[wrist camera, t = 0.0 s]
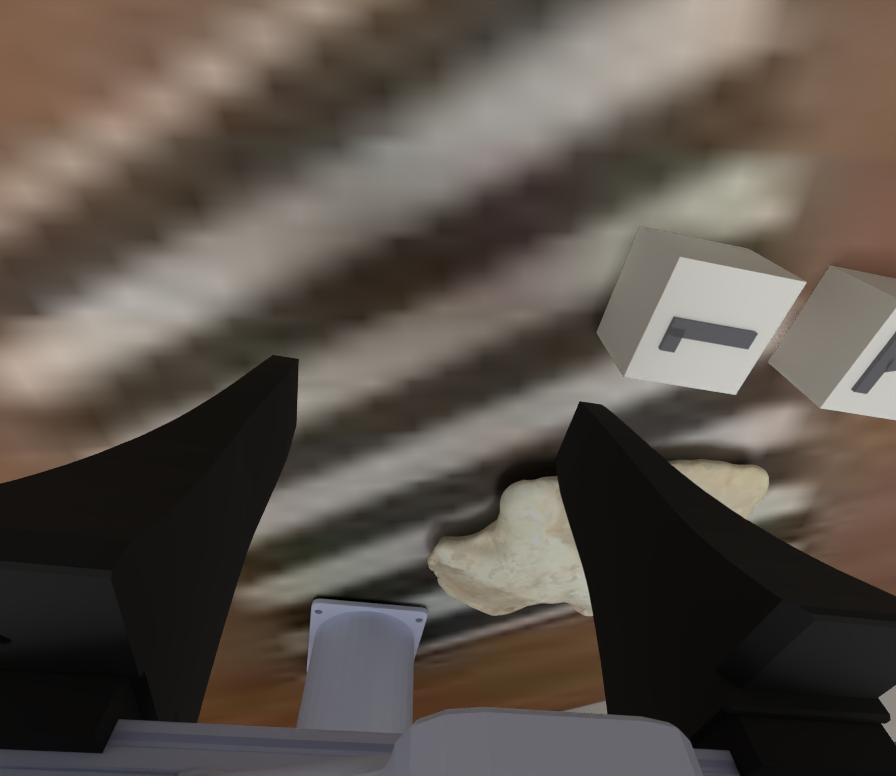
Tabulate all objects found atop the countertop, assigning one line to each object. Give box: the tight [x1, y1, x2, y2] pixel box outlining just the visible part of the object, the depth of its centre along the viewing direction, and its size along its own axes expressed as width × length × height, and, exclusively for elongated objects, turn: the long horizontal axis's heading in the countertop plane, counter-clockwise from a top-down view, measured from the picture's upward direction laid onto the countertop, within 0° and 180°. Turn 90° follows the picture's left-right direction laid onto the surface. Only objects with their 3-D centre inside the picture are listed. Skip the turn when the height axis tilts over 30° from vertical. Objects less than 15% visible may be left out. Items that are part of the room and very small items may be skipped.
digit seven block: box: [768, 265, 896, 420], centre depth 21 cm, size 5×5×4 cm
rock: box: [427, 459, 769, 616], centre depth 29 cm, size 4×13×20 cm
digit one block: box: [596, 226, 807, 395], centre depth 20 cm, size 5×5×4 cm
